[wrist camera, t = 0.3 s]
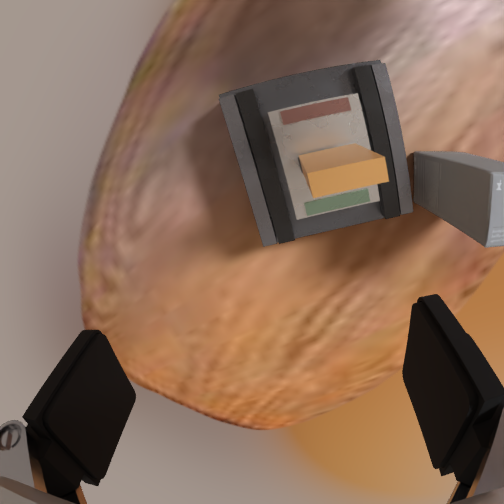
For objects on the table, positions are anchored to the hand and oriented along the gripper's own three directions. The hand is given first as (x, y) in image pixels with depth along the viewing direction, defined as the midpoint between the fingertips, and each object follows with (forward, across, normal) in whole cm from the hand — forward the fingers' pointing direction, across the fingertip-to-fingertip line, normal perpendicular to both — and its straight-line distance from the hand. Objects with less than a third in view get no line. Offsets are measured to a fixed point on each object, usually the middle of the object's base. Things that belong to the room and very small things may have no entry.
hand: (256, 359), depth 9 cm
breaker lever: (+21, -6, -2) cm, 22 cm away
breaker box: (+29, -6, -2) cm, 30 cm away
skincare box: (+29, -21, +2) cm, 36 cm away
